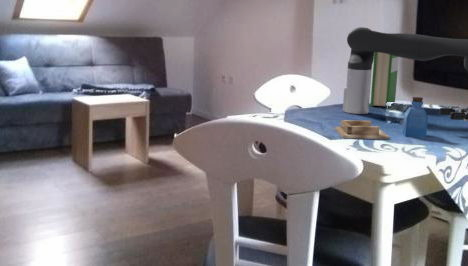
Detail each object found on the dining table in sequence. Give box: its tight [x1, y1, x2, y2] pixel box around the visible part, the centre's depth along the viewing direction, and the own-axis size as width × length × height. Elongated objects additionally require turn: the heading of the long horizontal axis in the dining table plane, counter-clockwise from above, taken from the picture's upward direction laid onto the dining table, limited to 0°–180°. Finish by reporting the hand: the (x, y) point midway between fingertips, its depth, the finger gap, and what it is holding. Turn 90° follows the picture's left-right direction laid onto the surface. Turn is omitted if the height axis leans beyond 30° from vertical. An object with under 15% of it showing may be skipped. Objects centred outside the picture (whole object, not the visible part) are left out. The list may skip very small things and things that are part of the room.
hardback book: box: [369, 52, 400, 108], centre depth 221 cm, size 18×7×24 cm, turn 153°
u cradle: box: [334, 119, 390, 140], centre depth 160 cm, size 14×14×3 cm
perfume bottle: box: [402, 96, 429, 139], centre depth 159 cm, size 6×6×12 cm
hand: (445, 113), depth 158 cm, fingers open, 8 cm apart
